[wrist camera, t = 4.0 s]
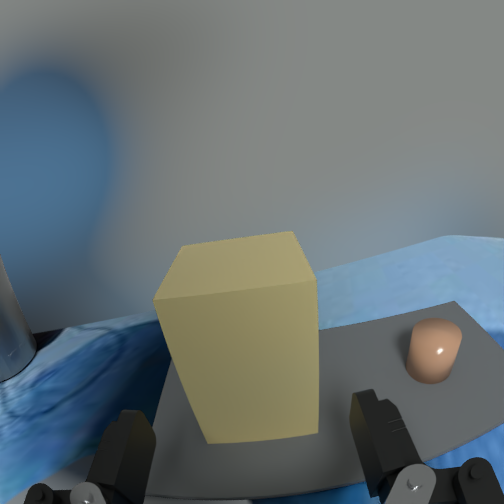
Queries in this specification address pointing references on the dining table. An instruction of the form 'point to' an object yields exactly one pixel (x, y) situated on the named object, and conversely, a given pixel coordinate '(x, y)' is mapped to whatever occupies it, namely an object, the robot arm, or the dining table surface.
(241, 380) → the tall cream block
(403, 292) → the dining table surface
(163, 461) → the mat
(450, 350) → the tan rounded blob
